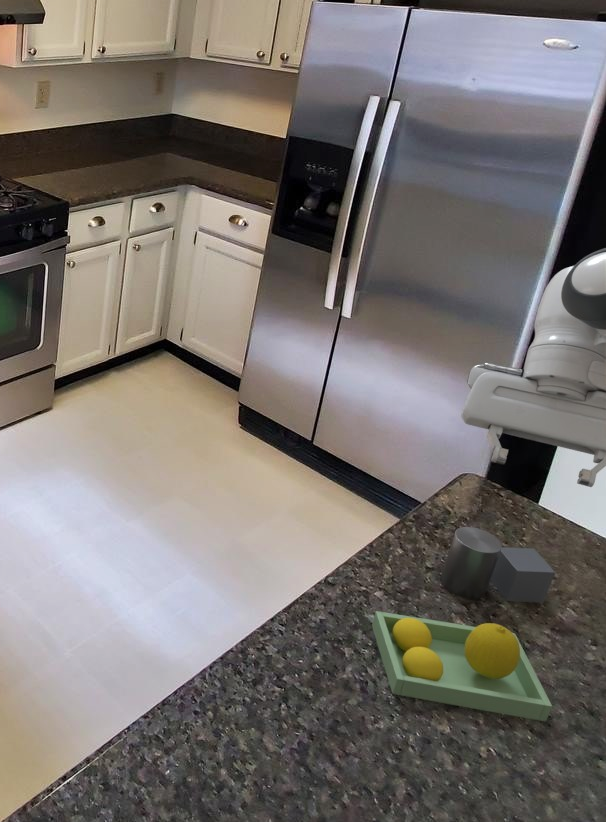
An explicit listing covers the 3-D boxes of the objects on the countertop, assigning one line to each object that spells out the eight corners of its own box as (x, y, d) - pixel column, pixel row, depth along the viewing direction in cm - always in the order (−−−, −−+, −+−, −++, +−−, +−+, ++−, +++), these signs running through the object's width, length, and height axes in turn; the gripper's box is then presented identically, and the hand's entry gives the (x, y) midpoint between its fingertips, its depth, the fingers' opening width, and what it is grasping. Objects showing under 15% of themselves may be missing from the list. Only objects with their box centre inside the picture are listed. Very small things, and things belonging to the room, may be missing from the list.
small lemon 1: (421, 638, 106) (429, 613, 104) (431, 664, 102) (440, 638, 100) (385, 632, 107) (393, 607, 105) (393, 657, 103) (401, 632, 101)
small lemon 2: (432, 667, 101) (441, 642, 100) (443, 695, 98) (452, 669, 96) (394, 661, 102) (402, 636, 101) (403, 688, 99) (412, 662, 97)
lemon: (457, 651, 104) (474, 604, 100) (508, 668, 101) (526, 621, 98) (457, 681, 100) (474, 633, 96) (509, 699, 97) (529, 651, 94)
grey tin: (476, 578, 117) (493, 529, 113) (489, 605, 112) (508, 555, 108) (434, 572, 118) (449, 523, 114) (445, 599, 113) (462, 549, 109)
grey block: (521, 580, 116) (534, 548, 114) (542, 605, 112) (555, 572, 109) (485, 579, 117) (497, 546, 114) (505, 604, 112) (517, 570, 110)
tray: (508, 650, 105) (515, 633, 103) (544, 724, 94) (552, 706, 93) (370, 627, 108) (375, 610, 107) (391, 697, 98) (397, 678, 97)
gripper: (475, 351, 110) (452, 443, 107) (666, 389, 100) (646, 492, 97) (469, 367, 116) (446, 455, 112) (650, 405, 105) (630, 503, 102)
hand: (540, 473), depth 104 cm, fingers open, 8 cm apart
